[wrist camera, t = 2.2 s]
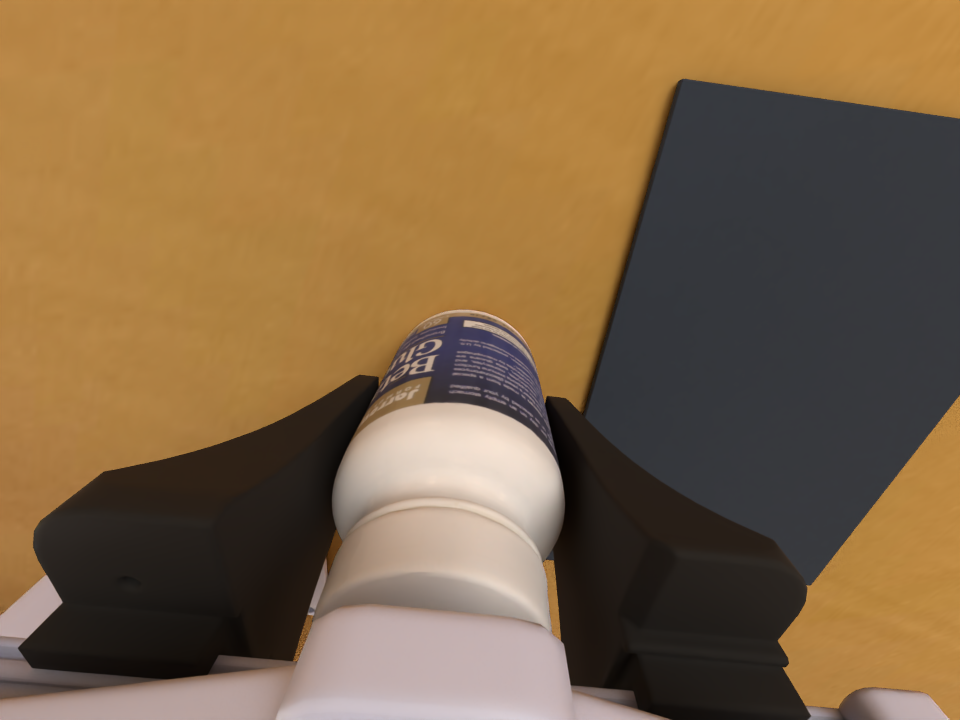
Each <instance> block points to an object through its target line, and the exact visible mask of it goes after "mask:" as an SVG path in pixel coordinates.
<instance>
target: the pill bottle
mask: <svg viewBox="0 0 960 720" xmlns="http://www.w3.org/2000/svg"><path fill="white" fill-rule="evenodd" d="M332 512H333V518H334V522H335V526H336V528H337V531H338V534H339V536H340V538H341V540H342V545H341V547H340V548H339V550H338V552H337V554H336V556H335V558H334V561H333V563H332V566H331V569H330V572H329V574H328V577H327V580H326V583H325V586H324V588H323V591H322V593H321V596H320V598H319V601H318V604H317V606H316V609H315V612H314V616H313V619H312V624H313V621H315V620H317V619H318V618H320V617H322V616H324V615H326V614H328V613H330V612H331V611H333V610H335V609H337V608H339V607H341V606H349V605H362V604H378V605H389V606H400V607H411V608H422V609H432V610H443V611H454V612H465V613H476V614H486V615H497V616H508V617H515V618H519V619H523V620H526V621H530V622H534V623H538V624H541V625H542V626H543V627H545V628H546V629H547V630H548V631H549V632H551V633H552V628H551V619H550V611H549V603H548V595H547V579H546V574H545V570H544V568H543V562H544V561H545V559H546V558H547V557H548V555H549V554H550V552H551V551H552V549H553V547H554V545H555V544H556V542H557V540H558V537H559V535H560V532H561V529H562V526H563V521H564V514H565V496H564V489H563V482H562V476H561V472H560V468H559V462H558V458H557V454H556V450H555V446H554V442H553V438H552V434H551V429H550V425H549V420H548V416H547V412H546V408H545V403H544V399H543V395H542V391H541V386H540V382H539V378H538V374H537V369H536V365H535V362H534V359H533V356H532V353H531V351H530V349H529V347H528V345H527V343H526V342H525V340H524V339H523V337H522V336H521V335H520V334H519V333H518V332H517V331H516V330H515V329H514V328H513V327H512V326H511V325H509V324H508V323H507V322H505V321H504V320H502V319H500V318H498V317H496V316H494V315H491V314H488V313H485V312H480V311H476V310H451V311H446V312H442V313H439V314H436V315H434V316H432V317H430V318H428V319H426V320H424V321H423V322H422V323H420V324H419V325H418V326H416V327H415V328H414V329H413V330H412V331H411V332H410V333H409V335H408V336H407V337H406V338H405V340H404V341H403V343H402V344H401V346H400V348H399V349H398V351H397V353H396V355H395V357H394V359H393V361H392V363H391V365H390V367H389V369H388V371H387V373H386V374H385V376H384V378H383V380H382V382H381V384H380V386H379V388H378V390H377V392H376V393H375V396H374V397H373V399H372V401H371V403H370V405H369V407H368V409H367V411H366V413H365V415H364V417H363V419H362V420H361V422H360V424H359V426H358V428H357V430H356V432H355V434H354V436H353V438H352V439H351V441H350V443H349V445H348V447H347V449H346V452H345V454H344V456H343V459H342V461H341V463H340V466H339V468H338V471H337V474H336V477H335V481H334V486H333V492H332Z"/></svg>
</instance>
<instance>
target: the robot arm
mask: <svg viewBox="0 0 960 720" xmlns="http://www.w3.org/2000/svg"><path fill="white" fill-rule="evenodd" d="M378 388H379V377H375V376H366V375H358V376H356V377H354V378H353V379H351V380H350V381H348V382H346V383H345V384H343V385H342V386H340V387H338V388H337V389H335V390H334V391H332V392H330V393H329V394H327V395H325V396H324V397H322V398H320V399H319V400H317V401H315V402H314V403H312V404H310V405H308V406H306V407H304V408H303V409H301V410H299V411H297V412H295V413H293V414H291V415H290V416H288V417H286V418H283V419H281V420H279V421H277V422H275V423H273V424H270V425H268V426H266V427H263V428H261V429H259V430H256V431H254V432H251V433H249V434H246V435H243V436H240V437H237V438H234V439H232V440H229V441H226V442H223V443H220V444H217V445H214V446H211V447H208V448H204V449H201V450H197V451H194V452H190V453H187V454H183V455H179V456H175V457H171V458H167V459H163V460H159V461H154V462H149V463H145V464H140V465H135V466H130V467H126V468H121V469H116V470H110V471H105V472H103V473H102V474H100V475H99V476H98V477H96V478H95V479H94V480H93V481H91V482H90V483H89V484H87V485H86V486H85V487H83V488H82V489H81V490H80V491H78V492H77V493H76V494H74V495H73V496H72V497H71V498H69V499H68V500H67V501H65V502H64V503H63V504H62V505H60V506H59V507H58V508H56V509H55V510H54V511H52V512H51V513H50V514H49V515H47V516H46V517H45V518H43V519H42V520H41V521H40V522H39V524H38V526H37V527H36V529H35V530H34V540H33V548H34V551H35V553H36V556H37V558H38V561H39V562H40V564H41V566H42V568H43V569H44V571H45V573H46V575H45V576H44V577H42V578H41V579H40V580H39V581H38V582H37V583H36V584H35V585H34V586H32V587H31V588H30V589H29V590H28V591H27V592H26V593H25V594H24V595H22V596H21V597H20V598H19V599H18V600H17V601H16V602H15V603H14V604H13V605H11V606H10V607H9V608H8V609H7V610H6V611H5V612H4V613H3V614H1V615H0V720H949V719H948V717H947V716H946V715H945V714H944V713H943V711H942V710H941V709H940V708H939V707H938V706H937V704H936V703H935V702H934V701H933V700H932V698H931V697H930V696H929V695H928V694H925V693H923V692H920V691H909V690H898V689H887V688H876V687H872V688H863V689H859V690H856V691H854V692H852V693H851V694H849V695H848V696H847V697H846V698H845V699H844V700H843V701H842V703H841V704H840V706H839V709H836V708H825V707H813V706H805V705H804V703H803V701H802V700H801V698H800V696H799V695H798V693H797V691H796V690H795V688H794V686H793V685H792V683H791V681H790V680H789V678H788V676H787V675H786V673H785V671H784V669H783V668H782V667H786V666H787V665H788V664H789V662H788V657H787V656H786V654H785V652H784V651H783V649H782V648H781V646H780V644H779V643H778V639H779V638H780V637H781V636H782V634H783V633H784V632H785V631H786V629H787V628H788V627H789V626H790V624H791V623H792V622H793V621H794V619H795V618H796V617H797V616H798V614H799V613H800V611H801V609H802V608H803V606H804V604H805V601H806V595H807V586H806V583H805V580H804V578H803V577H802V575H801V574H800V573H799V572H798V570H797V569H796V568H795V566H794V565H793V564H792V563H791V561H790V560H789V559H788V557H787V556H786V555H785V554H784V552H783V551H782V550H781V548H780V547H779V546H778V545H777V543H776V542H775V541H774V540H773V539H771V538H768V537H766V536H764V535H762V534H760V533H757V532H755V531H753V530H751V529H749V528H746V527H744V526H742V525H740V524H738V523H735V522H733V521H731V520H729V519H727V518H725V517H723V516H721V515H719V514H717V513H715V512H713V511H711V510H709V509H707V508H705V507H704V506H702V505H700V504H698V503H696V502H694V501H693V500H691V499H689V498H687V497H686V496H684V495H682V494H681V493H679V492H677V491H676V490H674V489H673V488H671V487H669V486H668V485H666V484H665V483H663V482H661V481H660V480H659V479H657V478H656V477H654V476H653V475H651V474H650V473H648V472H647V471H646V470H644V469H643V468H642V467H640V466H639V465H638V464H636V463H635V462H633V461H632V460H631V459H630V458H628V457H627V456H626V455H625V454H624V453H622V452H621V451H620V450H619V449H618V448H617V447H615V446H614V445H613V444H612V443H611V442H610V441H609V440H608V439H606V438H605V437H604V436H603V435H602V434H601V433H600V432H599V431H598V430H597V429H596V428H595V427H594V426H593V425H592V424H591V423H590V422H589V421H588V420H587V419H586V418H585V417H584V416H583V415H582V414H581V413H580V412H579V411H578V410H577V409H576V408H575V407H574V406H573V405H572V404H571V403H570V402H569V401H568V400H567V399H566V398H560V397H551V396H547V398H546V402H545V408H546V412H547V416H548V420H549V425H550V429H551V434H552V438H553V442H554V446H555V450H556V454H557V458H558V462H559V468H560V472H561V476H562V482H563V489H564V496H565V514H564V521H563V526H562V529H561V532H560V535H559V537H558V540H557V542H556V544H555V545H554V547H553V556H554V565H555V575H556V585H557V596H558V607H559V618H560V632H561V641H560V640H559V639H558V638H556V637H555V636H554V635H553V634H552V633H551V632H549V631H548V630H547V629H546V628H545V627H543V626H542V625H541V624H538V623H534V622H530V621H526V620H523V619H519V618H515V617H508V616H497V615H486V614H476V613H465V612H454V611H443V610H432V609H422V608H411V607H400V606H389V605H378V604H362V605H349V606H341V607H339V608H337V609H335V610H333V611H331V612H330V613H328V614H326V615H324V616H322V617H320V618H318V619H317V620H315V621H313V624H312V626H311V629H310V631H309V634H308V637H307V639H306V642H305V644H304V647H303V649H302V652H301V654H300V657H299V660H298V662H294V661H293V659H294V656H295V652H296V649H297V646H298V642H299V639H300V636H301V633H302V629H303V626H304V623H305V620H306V617H307V615H314V612H315V609H316V606H317V604H318V601H319V598H320V596H321V593H322V591H323V588H324V586H325V583H326V580H327V577H328V572H327V560H326V556H327V553H328V550H329V548H330V545H331V542H332V539H333V536H334V533H335V531H336V526H335V522H334V518H333V512H332V492H333V486H334V481H335V477H336V474H337V471H338V468H339V466H340V463H341V461H342V459H343V456H344V454H345V452H346V449H347V447H348V445H349V443H350V441H351V439H352V438H353V436H354V434H355V432H356V430H357V428H358V426H359V424H360V422H361V420H362V419H363V417H364V415H365V413H366V411H367V409H368V407H369V405H370V403H371V401H372V399H373V397H374V396H375V393H376V392H377V390H378Z"/></svg>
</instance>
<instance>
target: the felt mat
mask: <svg viewBox="0 0 960 720" xmlns="http://www.w3.org/2000/svg"><path fill="white" fill-rule="evenodd" d="M959 395H960V119H958V118H951V117H944V116H937V115H930V114H923V113H916V112H910V111H903V110H896V109H889V108H882V107H875V106H868V105H861V104H854V103H847V102H841V101H834V100H827V99H820V98H813V97H806V96H799V95H792V94H785V93H778V92H772V91H765V90H758V89H751V88H744V87H737V86H730V85H723V84H716V83H709V82H702V81H696V80H689V79H682V80H680V81H679V82H678V84H677V88H676V91H675V95H674V98H673V102H672V105H671V109H670V112H669V116H668V119H667V123H666V126H665V130H664V133H663V137H662V140H661V144H660V147H659V151H658V154H657V158H656V161H655V165H654V168H653V172H652V175H651V179H650V182H649V186H648V189H647V193H646V197H645V200H644V204H643V207H642V211H641V214H640V218H639V221H638V225H637V228H636V232H635V235H634V239H633V242H632V246H631V249H630V253H629V256H628V260H627V263H626V267H625V270H624V274H623V277H622V281H621V284H620V288H619V291H618V295H617V298H616V302H615V305H614V309H613V312H612V316H611V319H610V323H609V326H608V330H607V333H606V337H605V340H604V344H603V347H602V351H601V354H600V358H599V361H598V365H597V368H596V372H595V375H594V379H593V382H592V386H591V389H590V393H589V396H588V400H587V403H586V407H585V410H584V414H583V416H584V417H585V418H586V419H587V420H588V421H589V422H590V423H591V424H592V425H593V426H594V427H595V428H596V429H597V430H598V431H599V432H600V433H601V434H602V435H603V436H604V437H605V438H606V439H608V440H609V441H610V442H611V443H612V444H613V445H614V446H615V447H617V448H618V449H619V450H620V451H621V452H622V453H624V454H625V455H626V456H627V457H628V458H630V459H631V460H632V461H633V462H635V463H636V464H638V465H639V466H640V467H642V468H643V469H644V470H646V471H647V472H648V473H650V474H651V475H653V476H654V477H656V478H657V479H659V480H660V481H661V482H663V483H665V484H666V485H668V486H669V487H671V488H673V489H674V490H676V491H677V492H679V493H681V494H682V495H684V496H686V497H687V498H689V499H691V500H693V501H694V502H696V503H698V504H700V505H702V506H704V507H705V508H707V509H709V510H711V511H713V512H715V513H717V514H719V515H721V516H723V517H725V518H727V519H729V520H731V521H733V522H735V523H738V524H740V525H742V526H744V527H746V528H749V529H751V530H753V531H755V532H757V533H760V534H762V535H764V536H766V537H768V538H771V539H773V540H774V541H775V542H776V543H777V545H778V546H779V547H780V548H781V550H782V551H783V552H784V554H785V555H786V556H787V557H788V559H789V560H790V561H791V563H792V564H793V565H794V566H795V568H796V569H797V570H798V572H799V573H800V574H801V575H802V577H803V578H804V580H805V583H806V585H811V584H812V583H813V582H814V581H815V579H816V578H817V577H818V575H819V574H820V573H821V572H822V570H823V569H824V568H825V566H826V565H827V564H828V563H829V561H830V560H831V559H832V558H833V556H834V555H835V554H836V552H837V551H838V550H839V549H840V547H841V546H842V545H843V543H844V542H845V541H846V540H847V538H848V537H849V536H850V535H851V533H852V532H853V531H854V529H855V528H856V527H857V526H858V524H859V523H860V522H861V521H862V519H863V518H864V517H865V515H866V514H867V513H868V512H869V510H870V509H871V508H872V506H873V505H874V504H875V503H876V501H877V500H878V499H879V498H880V496H881V495H882V494H883V492H884V491H885V490H886V489H887V487H888V486H889V485H890V483H891V482H892V481H893V480H894V478H895V477H896V476H897V475H898V473H899V472H900V471H901V469H902V468H903V467H904V466H905V464H906V463H907V462H908V460H909V459H910V458H911V457H912V455H913V454H914V453H915V452H916V450H917V449H918V448H919V446H920V445H921V444H922V443H923V441H924V440H925V439H926V437H927V436H928V435H929V434H930V432H931V431H932V430H933V429H934V427H935V426H936V425H937V423H938V422H939V421H940V420H941V418H942V417H943V416H944V414H945V413H946V412H947V411H948V409H949V408H950V407H951V406H952V404H953V403H954V402H955V400H956V399H957V398H958V397H959ZM545 560H554V556H553V549H552V551H551V552H550V554H549V555H548V557H547V558H546V559H545Z"/></svg>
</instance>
